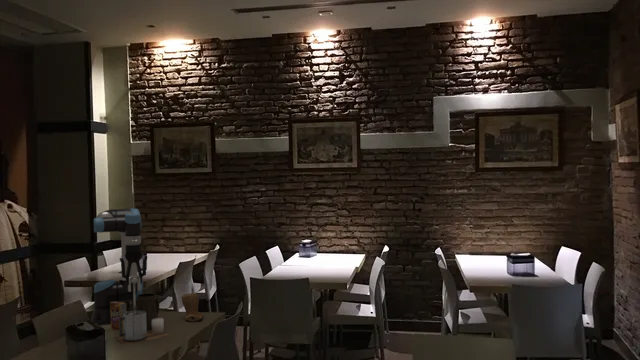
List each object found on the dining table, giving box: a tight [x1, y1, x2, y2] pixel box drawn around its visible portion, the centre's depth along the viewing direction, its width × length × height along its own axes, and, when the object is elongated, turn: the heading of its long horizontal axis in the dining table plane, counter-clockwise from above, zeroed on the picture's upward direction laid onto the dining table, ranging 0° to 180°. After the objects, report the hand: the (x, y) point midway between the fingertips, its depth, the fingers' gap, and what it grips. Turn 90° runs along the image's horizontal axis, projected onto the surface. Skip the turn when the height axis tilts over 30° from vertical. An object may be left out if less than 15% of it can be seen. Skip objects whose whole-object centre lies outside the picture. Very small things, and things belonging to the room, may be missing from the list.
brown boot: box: [181, 292, 203, 322], centre depth 323 cm, size 15×12×15 cm
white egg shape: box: [151, 317, 165, 334], centre depth 290 cm, size 6×6×7 cm
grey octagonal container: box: [118, 309, 148, 343], centre depth 279 cm, size 11×13×13 cm
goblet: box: [130, 277, 138, 315], centre depth 280 cm, size 8×8×20 cm
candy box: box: [110, 301, 128, 331], centre depth 302 cm, size 9×4×15 cm, turn 57°
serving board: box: [114, 330, 172, 346], centre depth 283 cm, size 16×24×2 cm, turn 122°
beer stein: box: [136, 293, 160, 332], centre depth 301 cm, size 15×11×20 cm
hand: (134, 290), depth 280 cm, fingers closed on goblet, 4 cm apart
